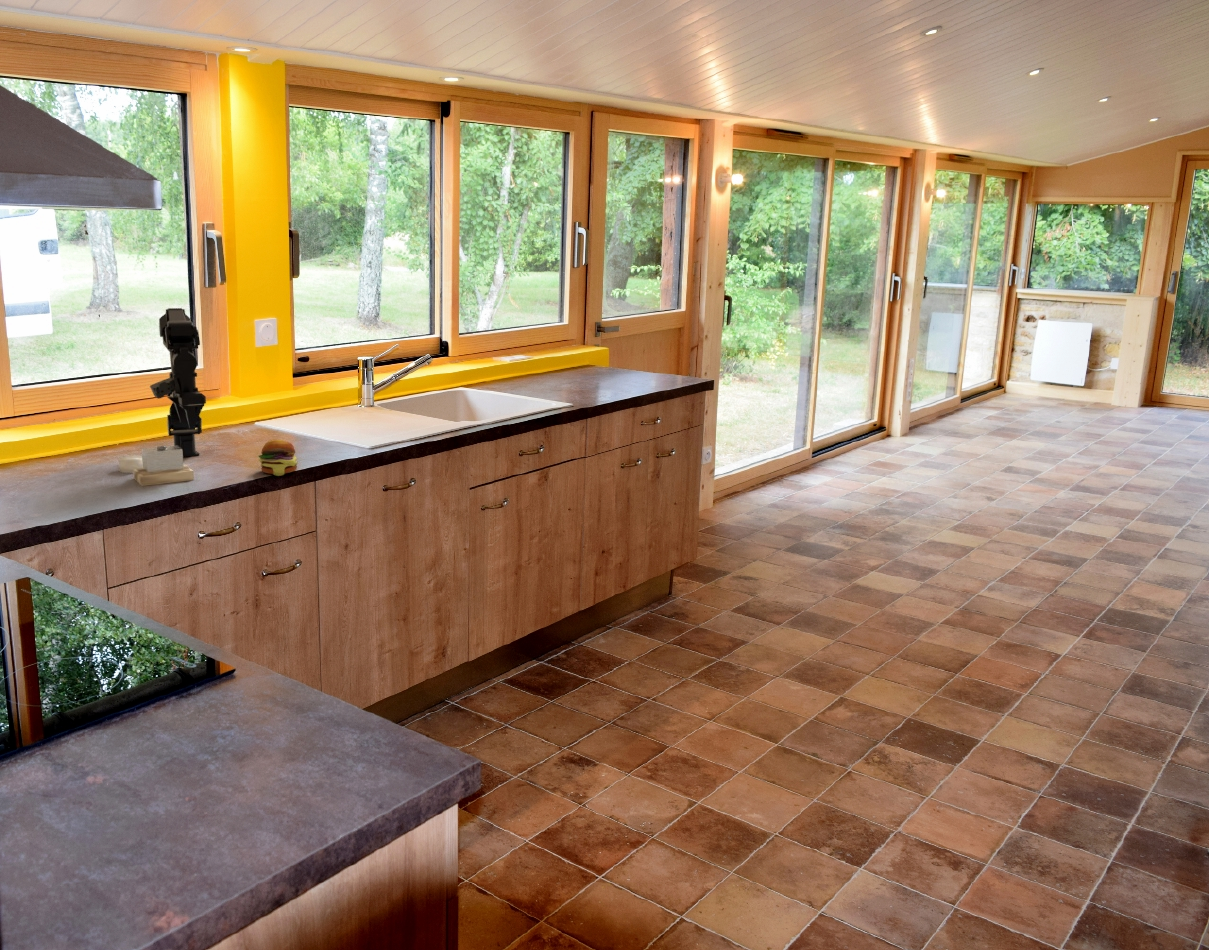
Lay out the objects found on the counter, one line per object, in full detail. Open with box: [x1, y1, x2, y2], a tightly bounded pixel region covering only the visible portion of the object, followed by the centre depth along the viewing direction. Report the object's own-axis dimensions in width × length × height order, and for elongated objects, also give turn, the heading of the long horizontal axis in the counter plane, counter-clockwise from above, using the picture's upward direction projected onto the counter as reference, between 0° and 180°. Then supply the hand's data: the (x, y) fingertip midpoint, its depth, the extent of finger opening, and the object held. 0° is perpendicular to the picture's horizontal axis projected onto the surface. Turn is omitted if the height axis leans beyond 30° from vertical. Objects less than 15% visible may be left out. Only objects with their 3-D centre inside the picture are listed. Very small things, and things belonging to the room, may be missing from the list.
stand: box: [132, 463, 195, 487], centre depth 283 cm, size 9×13×3 cm
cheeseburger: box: [258, 439, 298, 477], centre depth 294 cm, size 10×11×10 cm
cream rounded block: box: [117, 455, 143, 474], centre depth 291 cm, size 6×6×4 cm
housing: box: [141, 445, 184, 473], centre depth 282 cm, size 5×9×6 cm, turn 126°
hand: (187, 425), depth 293 cm, fingers open, 9 cm apart
